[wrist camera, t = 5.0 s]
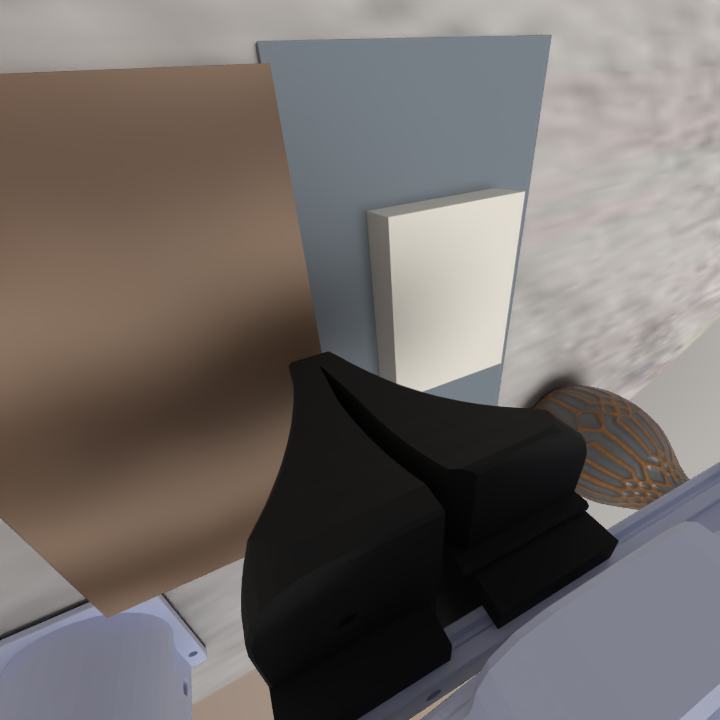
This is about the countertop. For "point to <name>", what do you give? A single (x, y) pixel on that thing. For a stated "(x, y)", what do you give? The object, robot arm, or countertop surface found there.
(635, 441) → the vase
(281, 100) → the mat
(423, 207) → the tile
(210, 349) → the block
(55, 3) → the countertop surface
